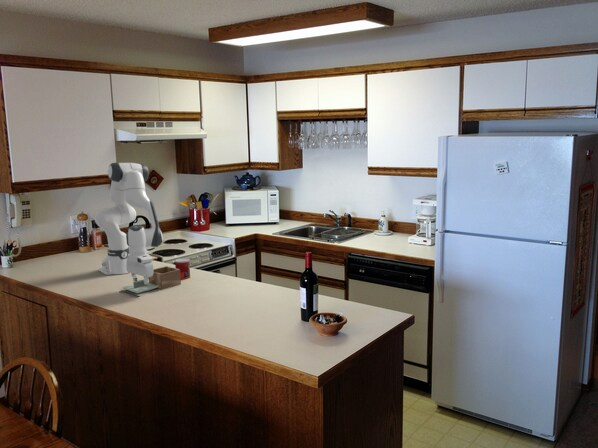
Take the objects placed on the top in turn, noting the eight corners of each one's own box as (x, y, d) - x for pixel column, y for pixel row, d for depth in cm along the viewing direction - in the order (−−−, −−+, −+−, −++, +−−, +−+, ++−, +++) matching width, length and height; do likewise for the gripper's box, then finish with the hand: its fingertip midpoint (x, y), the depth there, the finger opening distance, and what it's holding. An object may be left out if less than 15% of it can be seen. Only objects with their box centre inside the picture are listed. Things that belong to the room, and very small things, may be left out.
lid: (123, 291, 287) (122, 281, 286) (144, 285, 297) (143, 276, 296) (137, 295, 279) (136, 285, 278) (158, 289, 288) (158, 280, 287)
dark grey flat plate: (119, 291, 287) (119, 291, 287) (145, 284, 299) (145, 284, 299) (136, 297, 276) (136, 297, 276) (162, 290, 288) (162, 289, 288)
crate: (149, 286, 295) (148, 270, 293) (167, 281, 304) (166, 266, 302) (162, 290, 287) (161, 274, 285) (181, 285, 296) (180, 269, 294)
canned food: (187, 281, 304) (186, 261, 302) (173, 280, 306) (172, 261, 304) (192, 277, 312) (191, 258, 310) (179, 276, 313) (178, 258, 311)
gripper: (122, 255, 289) (124, 280, 291) (144, 260, 275) (146, 287, 278) (132, 253, 293) (134, 277, 296) (154, 258, 280) (156, 284, 283)
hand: (140, 282), depth 287 cm, fingers open, 8 cm apart
